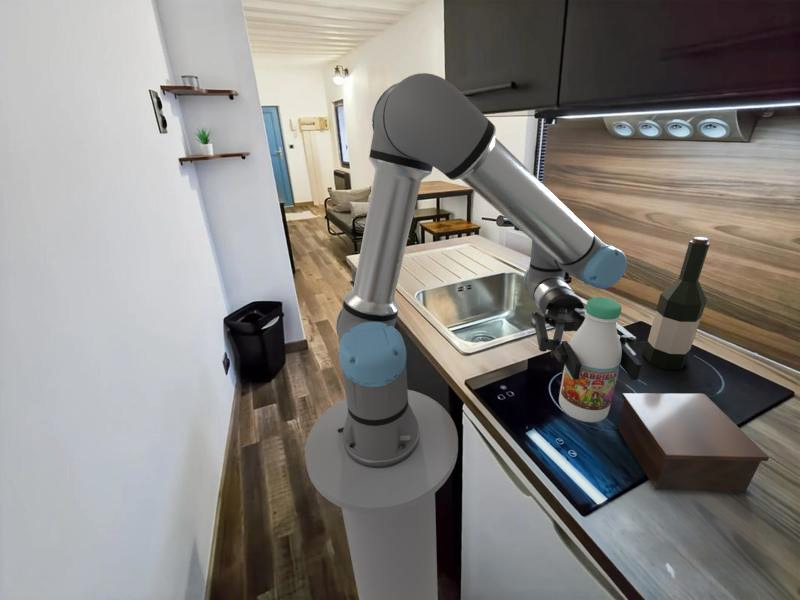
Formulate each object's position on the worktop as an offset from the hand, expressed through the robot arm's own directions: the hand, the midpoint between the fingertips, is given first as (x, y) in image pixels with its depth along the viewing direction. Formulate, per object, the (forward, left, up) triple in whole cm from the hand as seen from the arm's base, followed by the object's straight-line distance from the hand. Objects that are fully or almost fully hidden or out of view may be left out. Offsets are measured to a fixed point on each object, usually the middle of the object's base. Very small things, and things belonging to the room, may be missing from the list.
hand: (606, 372), depth 53 cm
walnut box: (+16, +3, -20) cm, 26 cm away
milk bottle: (0, +5, -11) cm, 12 cm away
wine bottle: (+30, +32, -20) cm, 48 cm away
